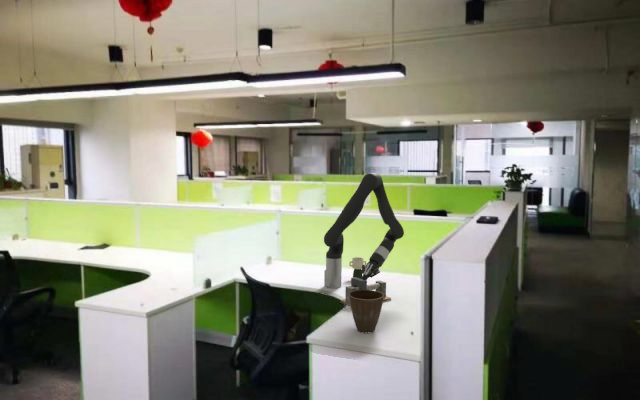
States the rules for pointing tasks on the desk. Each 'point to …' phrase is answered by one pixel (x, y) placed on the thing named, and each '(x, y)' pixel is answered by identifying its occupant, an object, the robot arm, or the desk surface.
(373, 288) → the pipe stand
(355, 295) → the plant pot
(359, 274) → the trophy cup
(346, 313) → the desk surface
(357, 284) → the gray notched block
